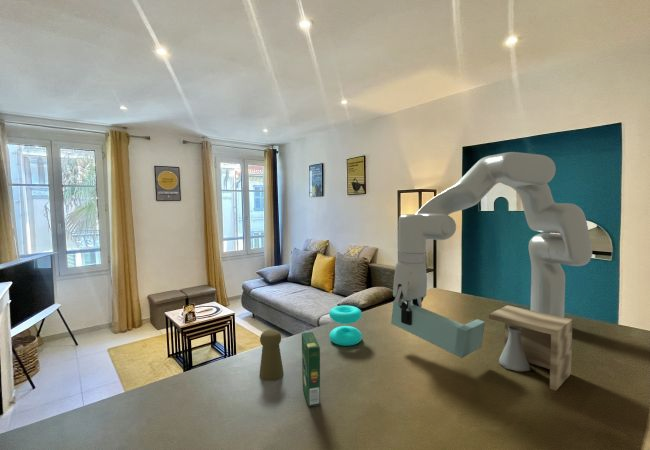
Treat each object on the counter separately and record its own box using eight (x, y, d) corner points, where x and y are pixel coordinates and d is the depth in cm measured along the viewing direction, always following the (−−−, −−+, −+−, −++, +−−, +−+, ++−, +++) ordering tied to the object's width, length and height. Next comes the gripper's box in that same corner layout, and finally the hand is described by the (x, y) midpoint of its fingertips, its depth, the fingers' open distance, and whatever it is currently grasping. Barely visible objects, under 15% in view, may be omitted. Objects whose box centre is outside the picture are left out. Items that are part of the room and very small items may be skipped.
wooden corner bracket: (506, 353, 91) (507, 305, 90) (570, 374, 80) (572, 319, 79) (488, 365, 84) (488, 314, 83) (555, 390, 73) (557, 330, 72)
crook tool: (411, 316, 102) (414, 295, 101) (481, 347, 85) (484, 321, 84) (391, 323, 96) (393, 300, 95) (461, 358, 79) (465, 331, 78)
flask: (535, 373, 80) (536, 334, 79) (503, 371, 82) (504, 332, 81) (523, 360, 87) (524, 323, 87) (494, 357, 89) (495, 322, 88)
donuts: (365, 306, 103) (356, 316, 94) (365, 336, 104) (356, 349, 95) (335, 302, 107) (324, 312, 98) (336, 332, 108) (324, 344, 99)
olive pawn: (287, 370, 83) (286, 328, 83) (276, 382, 78) (275, 337, 77) (266, 366, 85) (265, 325, 85) (254, 378, 79) (253, 334, 79)
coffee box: (321, 406, 68) (320, 345, 67) (308, 408, 67) (307, 347, 67) (314, 385, 76) (313, 331, 75) (302, 387, 75) (301, 332, 75)
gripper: (417, 254, 99) (416, 313, 100) (381, 259, 89) (381, 325, 90) (439, 257, 94) (438, 319, 95) (404, 263, 83) (403, 333, 84)
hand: (410, 321), depth 92 cm, fingers closed on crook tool, 3 cm apart
